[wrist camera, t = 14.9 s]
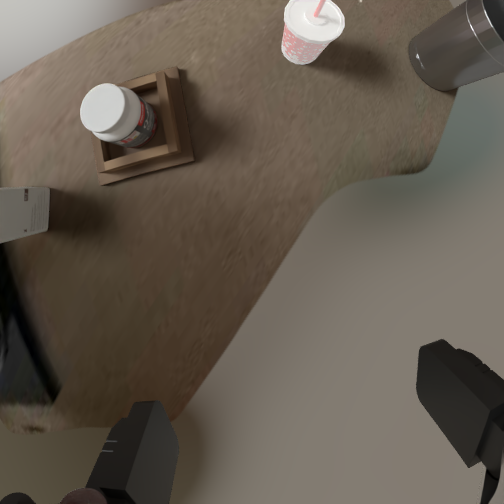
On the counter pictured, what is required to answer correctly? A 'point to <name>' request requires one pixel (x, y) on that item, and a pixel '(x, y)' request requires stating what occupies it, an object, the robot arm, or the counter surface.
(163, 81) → the wooden tray
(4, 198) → the skincare box
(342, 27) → the beverage cup
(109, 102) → the pill bottle
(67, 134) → the counter surface
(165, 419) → the robot arm
